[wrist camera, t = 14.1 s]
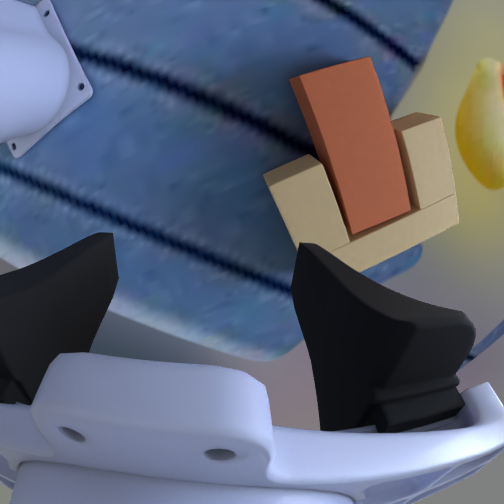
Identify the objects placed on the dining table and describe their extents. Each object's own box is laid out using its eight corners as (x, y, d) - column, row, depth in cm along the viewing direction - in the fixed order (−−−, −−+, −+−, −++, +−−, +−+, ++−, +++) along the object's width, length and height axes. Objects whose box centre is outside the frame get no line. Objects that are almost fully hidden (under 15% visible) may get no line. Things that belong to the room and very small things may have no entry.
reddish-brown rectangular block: (390, 195, 21) (411, 210, 18) (337, 216, 21) (352, 234, 19) (350, 60, 16) (370, 56, 13) (288, 79, 17) (298, 75, 14)
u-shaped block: (262, 173, 19) (267, 186, 17) (416, 111, 18) (441, 116, 15) (305, 269, 23) (315, 292, 20) (437, 208, 21) (459, 223, 19)
